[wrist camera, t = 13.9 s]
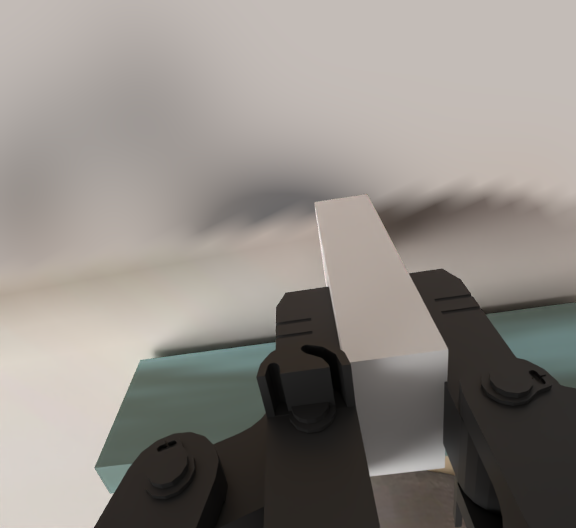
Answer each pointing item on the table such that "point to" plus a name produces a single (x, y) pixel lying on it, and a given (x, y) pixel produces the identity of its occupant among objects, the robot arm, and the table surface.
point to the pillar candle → (415, 500)
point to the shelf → (247, 398)
